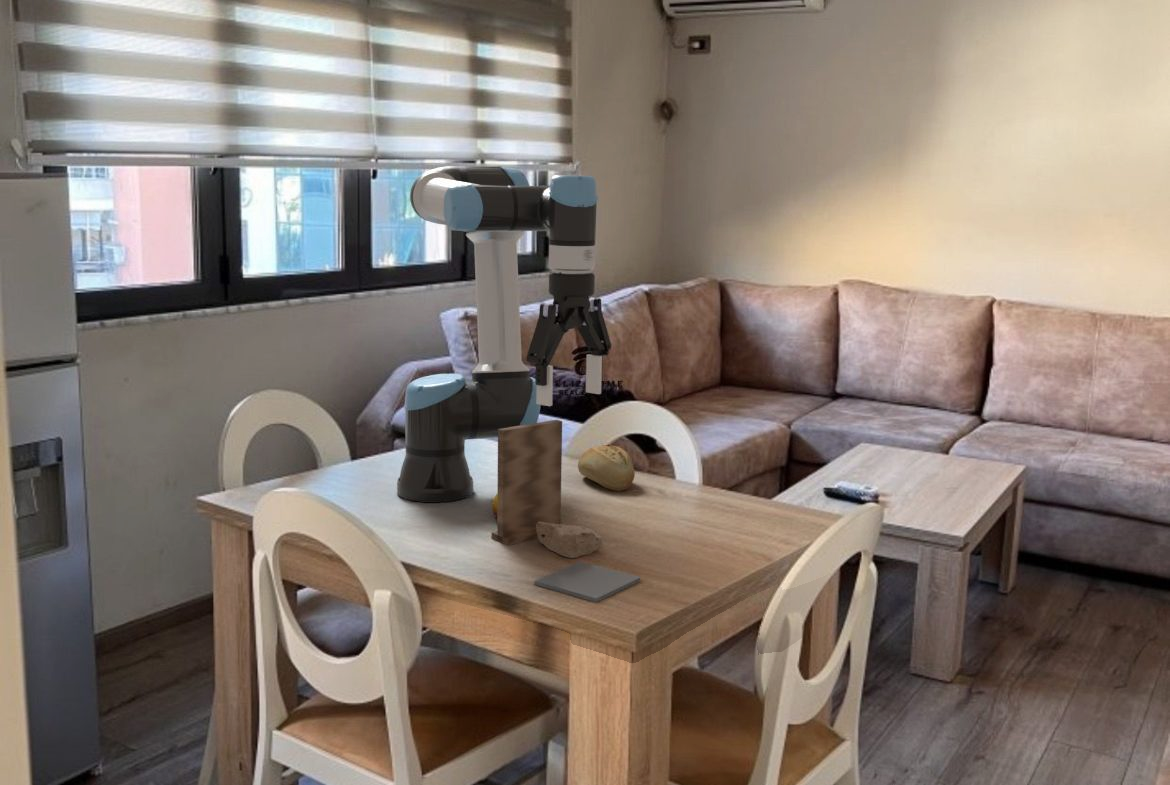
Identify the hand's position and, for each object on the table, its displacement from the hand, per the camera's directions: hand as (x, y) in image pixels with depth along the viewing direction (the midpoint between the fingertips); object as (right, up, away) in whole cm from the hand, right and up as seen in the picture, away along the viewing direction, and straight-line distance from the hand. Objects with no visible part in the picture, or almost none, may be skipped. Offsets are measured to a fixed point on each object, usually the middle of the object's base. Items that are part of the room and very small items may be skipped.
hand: (569, 398), depth 196 cm
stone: (-1, -26, +6) cm, 27 cm away
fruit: (-9, -23, +23) cm, 34 cm away
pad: (+3, -29, -10) cm, 31 cm away
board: (-7, -24, +13) cm, 29 cm away
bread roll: (+7, -18, +48) cm, 52 cm away
